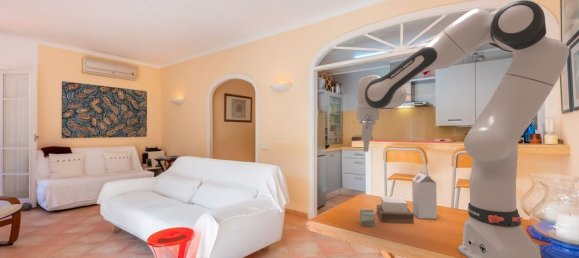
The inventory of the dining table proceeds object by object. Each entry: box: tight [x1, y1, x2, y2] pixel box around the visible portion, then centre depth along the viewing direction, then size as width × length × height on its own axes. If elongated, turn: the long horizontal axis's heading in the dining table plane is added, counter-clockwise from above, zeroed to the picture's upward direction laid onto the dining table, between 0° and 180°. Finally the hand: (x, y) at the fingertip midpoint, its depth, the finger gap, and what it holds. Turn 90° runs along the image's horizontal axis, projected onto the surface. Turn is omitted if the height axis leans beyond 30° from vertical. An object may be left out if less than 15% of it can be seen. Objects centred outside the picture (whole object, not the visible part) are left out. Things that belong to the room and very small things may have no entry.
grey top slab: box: [380, 195, 408, 213], centre depth 110 cm, size 9×9×4 cm
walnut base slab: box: [376, 204, 415, 225], centre depth 110 cm, size 12×12×4 cm
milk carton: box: [411, 169, 438, 220], centre depth 111 cm, size 7×7×19 cm
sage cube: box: [359, 208, 376, 227], centre depth 104 cm, size 5×5×5 cm
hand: (366, 149), depth 106 cm, fingers open, 8 cm apart
